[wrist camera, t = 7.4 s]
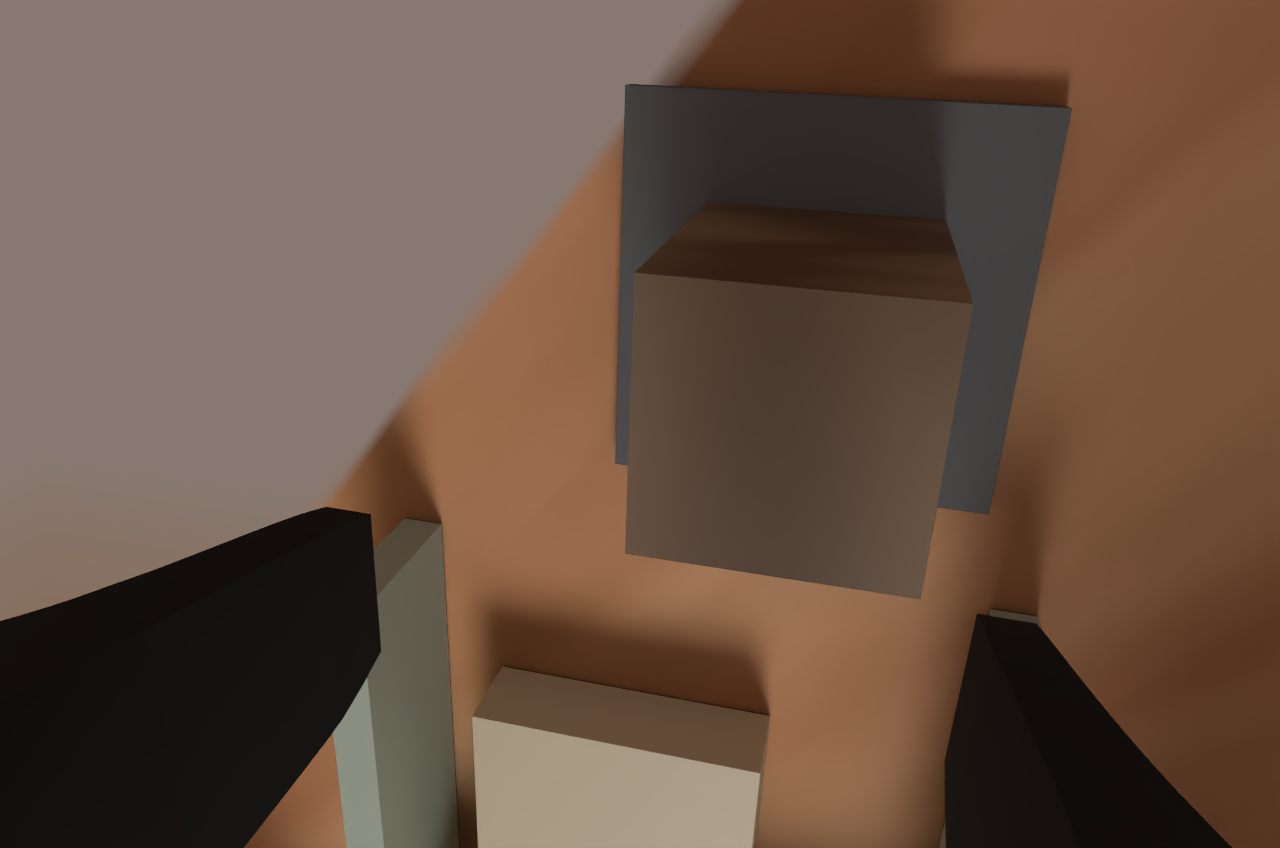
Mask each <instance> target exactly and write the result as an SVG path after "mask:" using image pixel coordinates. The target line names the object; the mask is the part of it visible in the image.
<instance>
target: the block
mask: <svg viewBox="0 0 1280 848" xmlns="http://www.w3.org/2000/svg"><path fill="white" fill-rule="evenodd" d="M972 309H973V301H972V298H971V295H970V292H969V289H968V286H967V283H966V280H965V277H964V274H963V271H962V268H961V264H960V261H959V258H958V255H957V252H956V249H955V246H954V243H953V240H952V237H951V234H950V231H949V227H948V224H947V221H946V220H943V219H930V218H917V217H904V216H891V215H877V214H864V213H851V212H838V211H824V210H811V209H798V208H785V207H772V206H758V205H745V204H732V203H719V202H707V203H705V204H704V205H703V206H702V207H701V208H700V209H699V210H698V211H697V212H696V213H695V214H694V215H693V216H692V217H691V218H690V219H689V220H688V221H687V222H686V223H685V224H684V225H683V226H682V227H681V228H680V229H679V230H678V231H677V232H676V233H675V234H674V235H673V236H672V237H671V238H669V239H668V240H667V241H666V242H665V243H664V244H663V245H662V246H661V247H660V248H659V249H658V250H657V251H656V252H655V253H654V254H653V255H652V256H651V257H650V258H649V259H648V260H647V261H646V262H645V263H644V264H643V265H642V266H641V267H640V268H639V269H638V270H637V271H636V272H635V273H634V300H633V331H632V362H631V393H630V424H629V455H628V486H627V517H626V548H625V554H631V555H638V556H644V557H651V558H657V559H664V560H670V561H677V562H683V563H690V564H696V565H703V566H709V567H716V568H722V569H728V570H735V571H741V572H748V573H754V574H761V575H767V576H774V577H780V578H787V579H793V580H800V581H806V582H813V583H819V584H826V585H832V586H838V587H845V588H851V589H858V590H864V591H871V592H877V593H884V594H890V595H897V596H903V597H910V598H916V599H921V594H922V588H923V583H924V577H925V571H926V566H927V560H928V555H929V549H930V543H931V538H932V532H933V527H934V521H935V516H936V510H937V504H938V499H939V493H940V488H941V482H942V476H943V471H944V465H945V460H946V454H947V448H948V443H949V437H950V432H951V426H952V420H953V415H954V409H955V404H956V398H957V393H958V387H959V381H960V376H961V370H962V365H963V359H964V353H965V348H966V342H967V337H968V331H969V325H970V320H971V314H972Z"/></svg>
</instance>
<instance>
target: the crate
mask: <svg viewBox="0 0 1280 848" xmlns="http://www.w3.org/2000/svg"><path fill="white" fill-rule="evenodd" d="M373 551H374V564H375V576H376V589H377V602H378V614H379V627H380V640H381V653H380V654H379V656H378V658H377V660H376V662H375V664H374V665H373V667H372V669H371V671H370V673H369V675H368V676H367V678H366V680H365V682H364V684H363V686H362V687H361V689H360V691H359V693H358V694H357V696H356V698H355V699H354V701H353V703H352V704H351V706H350V708H349V709H348V711H347V713H346V714H345V716H344V718H343V719H342V721H341V722H340V723H339V725H338V726H337V727H336V729H335V730H334V731H333V736H334V744H335V753H336V761H337V770H338V778H339V786H340V795H341V803H342V812H343V820H344V828H345V837H346V845H347V848H459V831H458V813H457V795H456V777H455V759H454V741H453V722H452V704H451V686H450V668H449V650H448V632H447V614H446V596H445V578H444V560H443V542H442V524H437V523H431V522H425V521H418V520H412V519H405V518H404V519H403V520H402V521H401V522H400V523H399V524H398V525H397V526H396V527H395V528H394V529H393V530H392V531H391V533H390V534H389V535H388V536H387V537H386V538H385V539H384V540H383V541H382V542H381V543H380V544H379V545H378V546H377V547H376V548H375V549H374V550H373ZM989 616H994V617H1000V618H1006V619H1012V620H1018V621H1024V622H1031V623H1037V625H1038V626H1039V627H1040V628H1041V625H1040V622H1039V618H1038V616H1031V615H1025V614H1018V613H1012V612H1006V611H999V610H993V609H990V612H989ZM769 719H770V716H767V715H762V714H756V713H751V712H746V711H740V710H735V709H729V708H724V707H719V706H713V705H708V704H702V703H697V702H692V701H686V700H681V699H675V698H670V697H665V696H659V695H654V694H648V693H643V692H638V691H632V690H627V689H621V688H616V687H610V686H605V685H600V684H594V683H589V682H583V681H578V680H573V679H567V678H562V677H556V676H551V675H546V674H540V673H535V672H529V671H524V670H519V669H513V668H508V667H502V668H501V669H500V671H499V673H498V674H497V676H496V678H495V679H494V681H493V683H492V684H491V686H490V688H489V689H488V691H487V693H486V694H485V696H484V698H483V699H482V701H481V703H480V704H479V706H478V708H477V709H476V711H475V713H474V714H473V716H472V722H473V745H474V767H475V789H476V812H477V834H478V848H755V844H756V835H757V826H758V817H759V809H760V800H761V791H762V782H763V773H764V764H765V755H766V746H767V737H768V728H769ZM939 848H946V833H945V821H944V826H943V831H942V835H941V840H940V845H939Z"/></svg>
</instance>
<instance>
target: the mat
mask: <svg viewBox="0 0 1280 848" xmlns="http://www.w3.org/2000/svg"><path fill="white" fill-rule="evenodd" d="M1071 110H1072V108H1070V107H1064V106H1044V105H1025V104H1005V103H986V102H967V101H947V100H928V99H909V98H889V97H870V96H851V95H831V94H812V93H793V92H773V91H754V90H735V89H715V88H696V87H676V86H657V85H638V84H629V85H625V118H624V155H623V193H622V230H621V267H620V305H619V342H618V379H617V417H616V454H615V464H621V465H628V455H629V424H630V393H631V362H632V331H633V300H634V273H635V272H636V271H637V270H638V269H639V268H640V267H641V266H642V265H643V264H644V263H645V262H646V261H647V260H648V259H649V258H650V257H651V256H652V255H653V254H654V253H655V252H656V251H657V250H658V249H659V248H660V247H661V246H662V245H663V244H664V243H665V242H666V241H667V240H668V239H669V238H671V237H672V236H673V235H674V234H675V233H676V232H677V231H678V230H679V229H680V228H681V227H682V226H683V225H684V224H685V223H686V222H687V221H688V220H689V219H690V218H691V217H692V216H693V215H694V214H695V213H696V212H697V211H698V210H699V209H700V208H701V207H702V206H703V205H704V204H705V203H707V202H719V203H732V204H745V205H758V206H772V207H785V208H798V209H811V210H824V211H838V212H851V213H864V214H877V215H891V216H904V217H917V218H930V219H943V220H946V221H947V224H948V227H949V231H950V234H951V237H952V240H953V243H954V246H955V249H956V252H957V255H958V258H959V261H960V264H961V268H962V271H963V274H964V277H965V280H966V283H967V286H968V289H969V292H970V295H971V298H972V301H973V309H972V314H971V320H970V325H969V331H968V337H967V342H966V348H965V353H964V359H963V365H962V370H961V376H960V381H959V387H958V393H957V398H956V404H955V409H954V415H953V420H952V426H951V432H950V437H949V443H948V448H947V454H946V460H945V465H944V471H943V476H942V482H941V488H940V493H939V499H938V504H937V507H938V508H946V509H953V510H961V511H968V512H975V513H983V514H989V510H990V506H991V501H992V496H993V491H994V486H995V481H996V476H997V471H998V466H999V462H1000V457H1001V452H1002V447H1003V442H1004V437H1005V432H1006V427H1007V423H1008V418H1009V413H1010V408H1011V403H1012V398H1013V393H1014V388H1015V383H1016V379H1017V374H1018V369H1019V364H1020V359H1021V354H1022V349H1023V344H1024V340H1025V335H1026V330H1027V325H1028V320H1029V315H1030V310H1031V305H1032V300H1033V296H1034V291H1035V286H1036V281H1037V276H1038V271H1039V266H1040V261H1041V257H1042V252H1043V247H1044V242H1045V237H1046V232H1047V227H1048V222H1049V217H1050V213H1051V208H1052V203H1053V198H1054V193H1055V188H1056V183H1057V178H1058V173H1059V169H1060V164H1061V159H1062V154H1063V149H1064V144H1065V139H1066V134H1067V130H1068V125H1069V120H1070V115H1071Z"/></svg>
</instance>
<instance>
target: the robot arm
mask: <svg viewBox="0 0 1280 848" xmlns="http://www.w3.org/2000/svg"><path fill="white" fill-rule="evenodd" d="M380 653H381V640H380V627H379V614H378V602H377V589H376V576H375V564H374V551H373V538H372V526H371V514H366V513H360V512H354V511H348V510H342V509H336V508H330V507H324V508H321V509H317V510H313V511H310V512H306V513H303V514H300V515H297V516H294V517H292V518H288V519H286V520H283V521H280V522H277V523H275V524H272V525H269V526H267V527H264V528H261V529H259V530H257V531H254V532H251V533H248V534H246V535H243V536H241V537H238V538H236V539H233V540H231V541H228V542H225V543H223V544H220V545H218V546H215V547H213V548H210V549H207V550H205V551H202V552H200V553H197V554H195V555H192V556H190V557H187V558H184V559H182V560H179V561H177V562H174V563H171V564H169V565H166V566H164V567H161V568H158V569H155V570H153V571H150V572H148V573H144V574H141V575H139V576H136V577H133V578H130V579H128V580H125V581H122V582H119V583H116V584H113V585H111V586H108V587H105V588H102V589H99V590H97V591H94V592H91V593H88V594H85V595H82V596H80V597H77V598H74V599H71V600H68V601H65V602H62V603H59V604H56V605H53V606H50V607H46V608H43V609H40V610H37V611H34V612H30V613H27V614H24V615H20V616H17V617H13V618H10V619H6V620H3V621H0V848H244V847H245V845H246V844H247V843H248V842H249V840H250V839H251V838H252V836H253V835H254V834H255V833H256V831H257V830H258V829H259V827H260V826H261V825H262V824H263V822H264V821H265V820H266V818H267V817H268V816H269V815H270V813H271V812H272V811H273V809H274V808H275V807H276V806H277V804H278V803H279V802H280V800H281V799H282V798H283V797H284V795H285V794H286V793H287V792H288V790H289V789H290V788H291V786H292V785H293V784H294V783H295V781H296V780H297V779H298V777H299V776H300V775H301V774H302V772H303V771H304V770H305V768H306V767H307V766H308V764H309V763H310V762H311V760H312V759H313V758H314V757H315V755H316V754H317V753H318V751H319V750H320V749H321V747H322V746H323V745H324V743H325V742H326V741H327V739H328V738H329V737H330V736H331V734H332V733H333V731H334V730H335V729H336V727H337V726H338V725H339V723H340V722H341V721H342V719H343V718H344V716H345V714H346V713H347V711H348V709H349V708H350V706H351V704H352V703H353V701H354V699H355V698H356V696H357V694H358V693H359V691H360V689H361V687H362V686H363V684H364V682H365V680H366V678H367V676H368V675H369V673H370V671H371V669H372V667H373V665H374V664H375V662H376V660H377V658H378V656H379V654H380ZM945 833H946V848H1232V847H1231V846H1230V845H1229V844H1228V843H1227V842H1226V841H1225V840H1224V839H1223V838H1222V837H1221V836H1220V835H1219V834H1218V833H1217V832H1216V831H1215V830H1214V829H1213V828H1212V827H1211V826H1210V825H1209V824H1208V823H1207V822H1206V821H1205V820H1204V819H1203V817H1202V816H1201V815H1200V814H1199V813H1198V812H1197V811H1196V810H1195V809H1194V808H1193V807H1192V806H1191V805H1190V804H1189V803H1188V802H1187V801H1186V800H1185V799H1184V798H1183V797H1182V796H1181V795H1180V794H1179V793H1178V792H1177V790H1176V789H1175V788H1174V787H1173V786H1172V785H1171V784H1170V783H1169V782H1168V781H1167V780H1166V779H1165V777H1164V776H1163V775H1162V774H1161V773H1160V772H1159V771H1158V770H1157V769H1156V768H1155V766H1154V765H1153V764H1152V763H1151V762H1150V761H1149V760H1148V759H1147V758H1146V756H1145V755H1144V754H1143V753H1142V752H1141V751H1140V750H1139V748H1138V747H1137V746H1136V745H1135V744H1134V743H1133V742H1132V740H1131V739H1130V738H1129V737H1128V736H1127V734H1126V733H1125V732H1124V731H1123V730H1122V729H1121V727H1120V726H1119V725H1118V724H1117V723H1116V722H1115V720H1114V719H1113V718H1112V717H1111V716H1110V714H1109V713H1108V712H1107V711H1106V709H1105V708H1104V707H1103V706H1102V705H1101V703H1100V702H1099V701H1098V700H1097V699H1096V697H1095V696H1094V695H1093V694H1092V692H1091V691H1090V690H1089V689H1088V687H1087V686H1086V685H1085V684H1084V682H1083V681H1082V680H1081V679H1080V677H1079V676H1078V675H1077V674H1076V672H1075V671H1074V670H1073V669H1072V667H1071V666H1070V665H1069V663H1068V662H1067V661H1066V660H1065V658H1064V657H1063V656H1062V655H1061V653H1060V652H1059V651H1058V649H1057V648H1056V647H1055V646H1054V644H1053V643H1052V642H1051V641H1050V639H1049V638H1048V637H1047V636H1046V634H1045V633H1044V632H1043V631H1042V629H1041V628H1040V627H1039V626H1038V625H1037V623H1031V622H1024V621H1018V620H1012V619H1006V618H1000V617H994V616H988V615H982V614H977V617H976V621H975V626H974V630H973V635H972V640H971V644H970V649H969V653H968V658H967V662H966V667H965V671H964V676H963V680H962V685H961V690H960V694H959V699H958V703H957V708H956V712H955V717H954V721H953V726H952V730H951V735H950V739H949V744H948V749H947V753H946V758H945Z"/></svg>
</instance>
